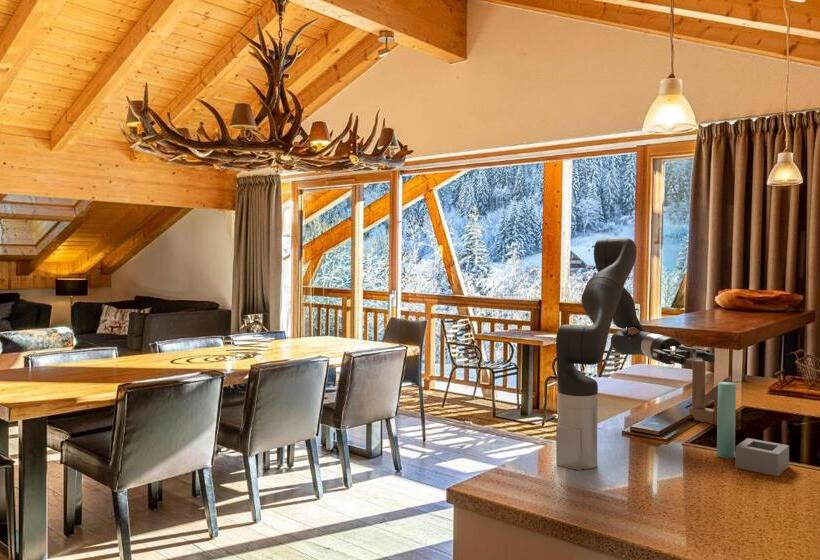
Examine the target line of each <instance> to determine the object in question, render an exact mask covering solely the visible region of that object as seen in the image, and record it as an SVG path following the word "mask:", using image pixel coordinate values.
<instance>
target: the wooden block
mask: <svg viewBox="0 0 820 560" xmlns="http://www.w3.org/2000/svg"><path fill="white" fill-rule="evenodd" d="M706 364H707V361H703V360H696V361H692V370H691V373H692V375H691V377H692V379H691V380H692V381H691V382H692V383H691V401H692V402H691V407H689V410H688V411H689V414H692V415H693V417H694V418H695V420H696V421H695V420H694V421H695V422H701V423H705V424H706V423H707V424H712V425H716V426H717V409H718V384H716V385H715V386H714V387H713V388H712V389H711V390H710V391H708V392H707V393H706V371H707V370H706V369H707V368H706V367H707V366H706ZM721 382H730V383H732V376H731V375H730V376H728V377H725V378H724V379H723V380H722V381H721ZM706 400H712V401H713V408H709V407H708V408H707V407H706ZM689 414H688V415H689Z"/></svg>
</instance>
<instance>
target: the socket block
mask: <svg viewBox="0 0 820 560" xmlns="http://www.w3.org/2000/svg"><path fill="white" fill-rule="evenodd" d="M734 459H735V462H734V463H735V466H734V467H735V468H737V469H742V470H745V471H751V472H756V473H760V474H766V475H770V476H775V477H779V476H780V475H781V474H782V473H784V472H785V471H786V470H787V468H789V466H790V445H788V444H783V443H778V442H772V441H768V440H760V439H756V438H749V437H747V438H745V439H744V440H742V441H741V442H739V443H738V444H736V445H735V457H734Z"/></svg>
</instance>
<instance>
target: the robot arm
mask: <svg viewBox="0 0 820 560" xmlns="http://www.w3.org/2000/svg"><path fill="white" fill-rule="evenodd" d="M593 247H594V248H593V260H594V264H595V268H596V271H597V272H596V273H595V274H594V275H592V276H591V277H589V280H588V281H587V282H586V285H585V287H584V290H583V292H582V295H581V299H580V300H581V305H582V309H583V310H584V312H585V313H586V315H587V316H588V318H589V319H590V320H591V322H592V324H591V325H588V324H587V325H585V324H584V325H583V324H562V325H560V326H559V328H558V329H557V332H556V336H555V337H556V339H555V352H556V355H555V356H556V357H555V358H556V380H557V425H556V429H555V431H556V433H555V437H556V438H555V440H556V441H555V448H556V449H555V454H556V455H555V456H556V457H555V459H556V460H555V464H556V466H559V467H565V468H567V469H573V470H575V471H581V470H589V469H593V468H596V467H597V465H598V416H599V415H598V408H599V407H598V406H599V405H598V403H599V401H598V399H599V398H598V397H599V384H598V382H597V381H596V380H595V379H594V378H593V377H590V376H588V375H586V374H584V373H583V372H581V371H580V370H579V369H578V368H577V367H576V366H575V365H576V364H577V365H588V366H589V365H590V366H591V365H593V366H594V365H595V366H596V365H597V364H599V363H600V362H601V361H602V359H603V357H604V354H605V350H606V347H607V342H608V338H609V334H610V333H609V332H610V329H611V325H612V322H613V324H614V325H615V327H617V328H618V329H619V330H616V332H614V333H613V334H612V335H611V338H610V345H611V346H612V348H613V349H614V350H615V351H616V352H617V353H618V354H619V353H620V354H621V355H626V356H627V355H628V356H629V355H631V356H632V355H634V356H637V355H641V356H645V357H646V358H649V359H651V360H653V361H657V362H659V363H662V364H664V365H673V364H679V365H682V366H685V365H686V364H687V361H689V362H690V361H691V362H693V361H696V360H703V361H705V362H706V363H711V364H713V363H715V358H716V357H715V355H714V354H713V353H711V350H710V349H706V348H703V347H699V346H695V345H694V346H692V347H689V346H686V345H682V344H681V342H680V341H679V340H678V339H676V338H674V337H671V336H667V335H663V334H659V333H652V332H650V331H645V329H644V327H643V326H642V324H641V322H640V321H639V320H640V319H639V318H638V315H637V311H636V305H635V301H634V298H633V296H632V294H631V293H630V292H629V291H628V290H627V288H626V287H625V284H626V281H627V280H628V277H629V276H630V274H631V272H632V270H633V268H634V265H635V262H636V260H637V259H636V258H637V246H636V242H635V241H634V240H633V239H632V238H629V237H613V238H599V239H597V240H596V241H595V243H594V246H593ZM626 327H627V331H626ZM630 327H635V328H637V329H638V330H639V331H641V332H638V333H636V334H633V335H631V334H629V335H628V328H630ZM643 329H644V330H643ZM644 331H645V332H644ZM629 338H630V339H629ZM691 354H692V357H691Z"/></svg>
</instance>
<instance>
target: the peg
mask: <svg viewBox="0 0 820 560" xmlns="http://www.w3.org/2000/svg"><path fill="white" fill-rule="evenodd" d="M717 385H718V409H717V425H716V456H717V457H720V458H721V459H735V452H736V412H737V411H736V405H737V404H736V400H737V398H736V397H737V393H736V392H737V384H736V383H734V382H731V383H730V382H722V381H720V382H718V383H717Z"/></svg>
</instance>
